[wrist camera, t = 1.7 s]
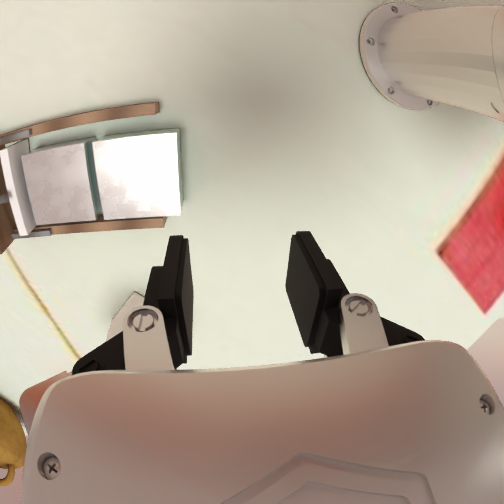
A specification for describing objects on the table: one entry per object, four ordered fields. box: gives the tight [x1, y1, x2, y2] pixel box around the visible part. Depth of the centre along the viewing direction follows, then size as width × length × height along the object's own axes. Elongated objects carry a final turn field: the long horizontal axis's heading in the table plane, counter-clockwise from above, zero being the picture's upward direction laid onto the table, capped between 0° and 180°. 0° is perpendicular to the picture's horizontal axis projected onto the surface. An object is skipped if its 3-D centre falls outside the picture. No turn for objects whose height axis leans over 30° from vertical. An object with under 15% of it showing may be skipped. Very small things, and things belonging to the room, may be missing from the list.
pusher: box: [0, 139, 37, 236], centre depth 22 cm, size 1×9×4 cm, turn 177°
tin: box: [92, 128, 183, 220], centre depth 25 cm, size 8×8×4 cm
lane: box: [0, 102, 167, 254], centre depth 23 cm, size 20×12×6 cm, turn 88°
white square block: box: [21, 137, 102, 225], centre depth 24 cm, size 8×8×4 cm
